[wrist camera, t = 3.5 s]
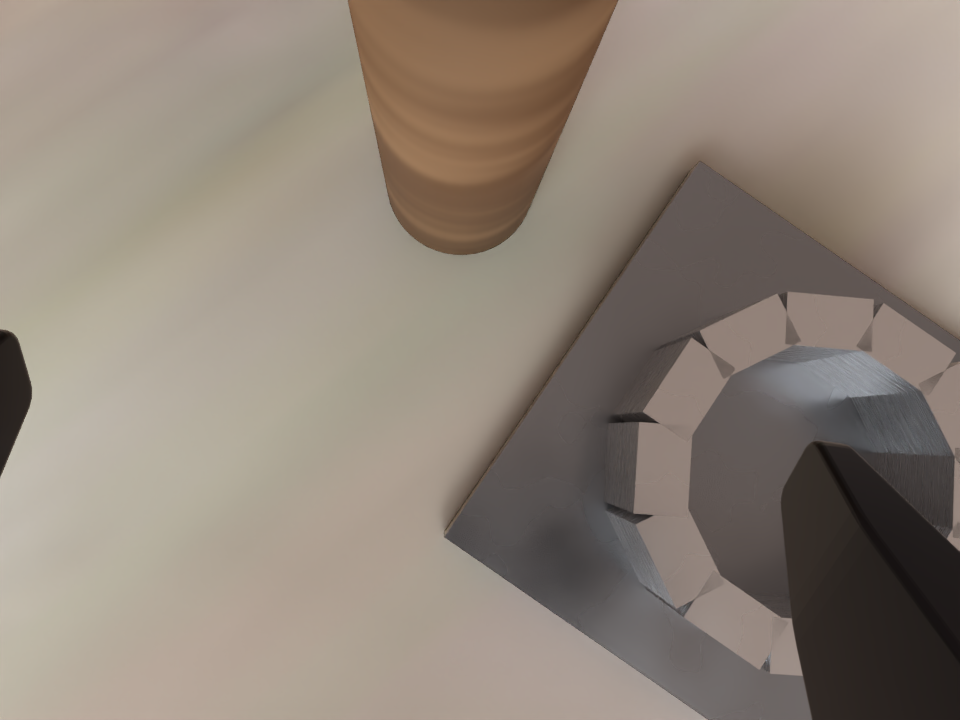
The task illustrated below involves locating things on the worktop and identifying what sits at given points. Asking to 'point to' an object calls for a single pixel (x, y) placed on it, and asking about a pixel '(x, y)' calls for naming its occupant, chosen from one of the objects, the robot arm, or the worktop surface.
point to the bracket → (712, 446)
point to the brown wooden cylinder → (471, 106)
